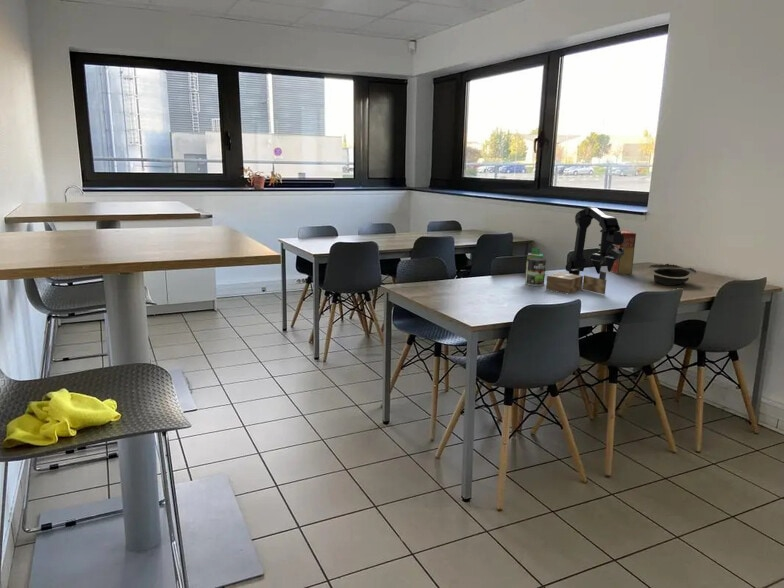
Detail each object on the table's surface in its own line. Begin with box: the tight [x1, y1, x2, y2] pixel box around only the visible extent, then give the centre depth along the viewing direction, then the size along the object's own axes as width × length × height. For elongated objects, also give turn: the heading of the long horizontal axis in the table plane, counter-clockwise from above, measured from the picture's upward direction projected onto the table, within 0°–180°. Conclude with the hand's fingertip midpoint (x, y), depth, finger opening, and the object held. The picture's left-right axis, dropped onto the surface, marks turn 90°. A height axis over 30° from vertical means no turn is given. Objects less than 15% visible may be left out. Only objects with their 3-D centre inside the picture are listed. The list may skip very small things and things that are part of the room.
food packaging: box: [610, 230, 637, 275], centre depth 347 cm, size 13×9×25 cm
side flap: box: [582, 270, 607, 295], centre depth 296 cm, size 14×1×12 cm, turn 33°
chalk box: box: [525, 247, 544, 267], centre depth 343 cm, size 9×9×15 cm
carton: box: [545, 271, 584, 295], centre depth 302 cm, size 14×13×8 cm
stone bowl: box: [647, 263, 697, 286], centre depth 321 cm, size 25×25×9 cm
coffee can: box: [524, 257, 547, 287], centre depth 314 cm, size 10×10×14 cm
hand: (603, 272), depth 291 cm, fingers open, 9 cm apart
